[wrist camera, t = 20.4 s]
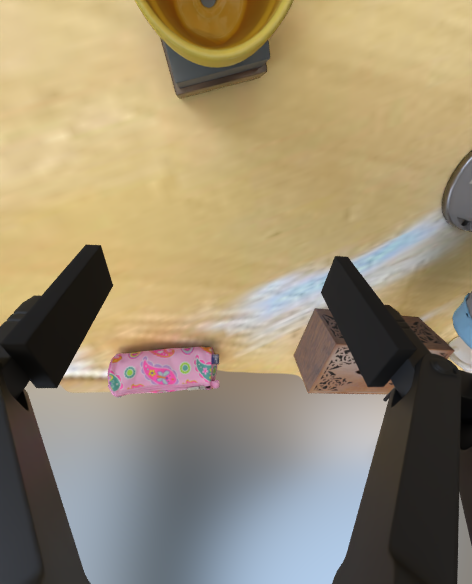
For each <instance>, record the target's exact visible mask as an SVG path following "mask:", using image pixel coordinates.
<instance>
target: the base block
mask: <svg viewBox="0 0 472 584" xmlns="http://www.w3.org/2000/svg"><path fill="white" fill-rule="evenodd" d="M160 38H161V37H160ZM161 42H162V45H163V49H164V52H165V56H166V60H167V63H168V67H169V71H170V74H171V78H172V81H173V85H174V89H175V92H176V95H177V96H178V97H179V98H184V97H188V96H192V95H195V94H199V93H203V92H207V91H211V90H214V89H218V88H222V87H226V86H229V85H233V84H237V83H241V82H245V81H248V80H252V79H256V78H260V77H261V76H262V75H263V74H265V73H266V72H267V65H266V63H265V64H264V65H263V66H262V67H259V68H255V69H251V70H247V71H244V72H240V73H236V74H232V75H228V76H225V77H221V78H217V79H213V80H210V81H206V82H202V83H198V84H195V85H191V86H187V87H183V88H179V87H178V86H177V84H176V83H175V79H174V76H173V72H172V68H171V65H170V61H169V57H168V54H167V50H166V46H165V43H164V41H163V39H162V38H161Z"/></svg>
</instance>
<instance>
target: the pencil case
mask: <svg viewBox="0 0 472 584" xmlns="http://www.w3.org/2000/svg"><path fill="white" fill-rule="evenodd" d="M217 364H219V355H218V354H214V352H213V348H212V347H187V348H169V349H161V350H151V351H140V352H135V353H125V354H124V353H119V354H116V355H115V356H114V357H113V358H112V360H111V362H110V365H109V369H108V383H109V385H108V387H109V389H110V391H111V393H112V394H113V395H114V396H116V397H121V396H124V395H127V394H135V393H163V392H172V391H178V390H184V389H188V390H189V391H191V390H197V389H203V390H204V389H206V390H210V389H213V388H219V380H216V381H215V377H216V372H217Z"/></svg>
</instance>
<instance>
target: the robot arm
mask: <svg viewBox="0 0 472 584" xmlns="http://www.w3.org/2000/svg"><path fill="white" fill-rule="evenodd" d="M442 209H443V214H444V217H445V219H446V220H447V221H448V223H450V224H451V225H453V226H455V227H457V228H460V229H462V230H466V231H471V232H472V151H471V152H470V153H469V154H468V155H467V156H466V157H465V158H464V159H463V161H462V162H461V163H460V164H459V166H458V167H457V168H456V170H455V171H454V173H453V175H452V176H451V178H450V180H449V182H448V184H447V187H446V189H445V192H444V196H443V202H442ZM112 287H113V284H112V280H111V277H110V274H109V271H108V267H107V264H106V261H105V257H104V254H103V251H102V247H101V245H85V246H84V248H83V249H82V250H81V251H80V252H79V253H78V254H77V256H76V257H75V258H74V259H73V260H72V261H71V263H70V264H69V265H68V266H67V267H66V268H65V269H64V271H63V272H62V273H61V274H60V275H59V276H58V277H57V279H56V280H55V281H54V282H53V283H52V284H51V286H50V287H49V288H48V289H47V290H46V291H45V292H44V294H43V295H42V296H33V297H31V298H30V299H28V300H27V301H25V302H23V303H22V304H21V305H20V306H19V307H18V308H17V309H16V310H15V312H14V314H12V315H11V316H10V317H9V318H8V319H7V321H5V322H4V323H3V324H2V326H1V327H0V584H90V582H89V581H88V579H87V577H86V575H85V573H84V570H83V567H82V564H81V561H80V558H79V554H78V551H77V548H76V545H75V542H74V539H73V535H72V532H71V529H70V526H69V523H68V520H67V516H66V513H65V510H64V507H63V504H62V500H61V497H60V494H59V491H58V488H57V485H56V482H55V478H54V475H53V472H52V469H51V466H50V462H49V459H48V456H47V453H46V450H45V447H44V444H43V440H42V437H41V434H40V431H39V428H38V424H37V421H36V418H35V415H34V412H33V408H32V406H31V402H30V399H29V396H28V393H27V392H26V390H25V389H24V388H25V387H26V385H27V384H28V382H29V381H31V382H32V383H33V384H34V385H35V387H36V388H57V387H58V385H59V383H60V382H61V380H62V378H63V376H64V374H65V372H66V371H67V369H68V367H69V365H70V363H71V361H72V360H73V358H74V356H75V354H76V352H77V351H78V349H79V347H80V345H81V343H82V341H83V340H84V338H85V336H86V334H87V332H88V330H89V329H90V327H91V325H92V323H93V321H94V320H95V318H96V316H97V314H98V312H99V310H100V309H101V307H102V305H103V303H104V301H105V299H106V298H107V296H108V294H109V292H110V290H111V289H112ZM321 293H322V296H323V298H324V300H325V302H326V304H327V306H328V308H329V310H330V312H331V314H332V316H333V318H334V320H335V322H336V324H337V326H338V328H339V330H340V332H341V334H342V336H343V338H344V340H345V342H346V344H347V346H348V348H349V350H350V352H351V354H352V356H353V358H354V360H355V362H356V364H357V367H358V369H359V371H360V373H361V375H362V377H363V379H364V381H365V383H366V385H367V387H384V386H385V385H386V384H387V383H388V382H389V381H390V380H391V381H392V383H393V385H394V386H395V387H394V388H393V389H392V390H391V391H390V392H389V393H388V394H387V395H386V397H385V398H384V401H387V400H388V399H389V401H388V405H387V408H386V412H385V415H384V419H383V423H382V426H381V430H380V434H379V437H378V441H377V445H376V449H375V452H374V456H373V459H372V463H371V467H370V470H369V474H368V478H367V482H366V485H365V488H364V492H363V496H362V499H361V503H360V507H359V510H358V514H357V518H356V522H355V525H354V529H353V532H352V536H351V540H350V543H349V547H348V551H347V554H346V557H345V559H344V561H343V563H342V564H341V566H340V567H339V569H338V570H337V573H336V575H335V577H334V580H333V583H332V584H457V568H458V519H459V492H460V496H461V500H462V505H463V509H464V514H465V518H466V523H467V527H468V531H469V536H470V540H471V544H472V373H468V372H464V371H461V370H458V368H457V367H456V366H455V365H454V364H453V363H452V362H451V361H449V360H448V359H446V358H444V357H443V356H440V355H437V354H432V353H431V352H430V351H429V350H428V349H427V347H426V346H425V345H424V344H423V342H422V341H421V340H420V339H419V337H418V336H417V335H416V334H415V332H414V331H413V330H412V329H410V326H409V325H408V324H407V322H405V320H404V318H403V317H402V316H401V315H400V313H399V312H397V311H396V310H395V309H394V308H392V307H391V306H390V305H384V304H383V303H382V302H381V300H380V299H379V298H378V296H377V295H376V294H375V292H374V291H373V290H372V288H371V287H370V286H369V284H368V283H367V282H366V280H365V279H364V278H363V276H362V275H361V274H360V272H359V271H358V270H357V269H356V267H355V266H354V265H353V263H352V262H351V261H350V259H349V258H348V257H340V256H335V258H334V260H333V263H332V266H331V268H330V271H329V273H328V276H327V278H326V281H325V284H324V286H323V289H322V291H321ZM453 325H454V328H455V330H456V332H457V333H458V335H459V336H460V338H461V339H462V340H463V341H464V342H465V343H466V344H467V345H468V346H469V347H470V348H471V349H472V292H471V293H468V294H467V295H466V296H465V298H464V301H463V303H462V304H461V305H460V306H459V307H458V309H457V310H456V311H455V312H454V314H453Z"/></svg>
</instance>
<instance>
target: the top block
mask: <svg viewBox="0 0 472 584" xmlns="http://www.w3.org/2000/svg"><path fill="white" fill-rule="evenodd" d="M201 2H202V4H203V5H204V6H205V7H207V8H210V7H212V6H213V5H214V4H215V2H216V0H201ZM164 43H165V42H164ZM165 46H166V50H167V54H168V57H169V61H170V65H171V68H172V72H173V76H174V79H175V83H176V84H177V86H178V87H179V88H183V87H187V86H191V85H195V84H198V83H202V82H206V81H210V80H213V79H217V78H221V77H225V76H228V75H232V74H236V73H240V72H244V71H247V70H251V69H255V68H259V67H262V66H263V65H264V64H265V63H266V62H267V61H268V60H269V59H270V51H269V41H268V40H267V41H266V43H265V44H264V45H263V46H262V47H261V48H260V49H258V50H257V51H256V52H255V53H254V54H252V55H251V56H250V57H248V58H247V59H245V60H243V61H241V62H239V63H237V64H234V65H231V66H227V67H219V68H217V67H206V66H202V65H198V64H196V63H193V62H191V61H189V60H187V59H185V58H184V57H182V56H181V55H179V54H178V53H176V52H175V51H174V50H173V49H172V48H171V47H169V46H168V45H167V44H166V43H165Z"/></svg>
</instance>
